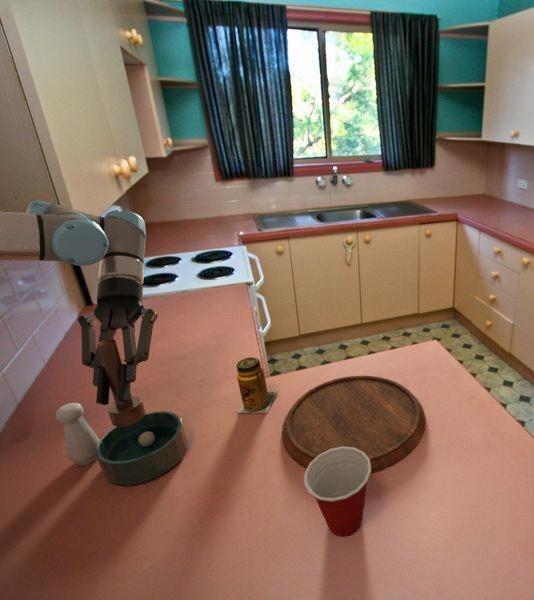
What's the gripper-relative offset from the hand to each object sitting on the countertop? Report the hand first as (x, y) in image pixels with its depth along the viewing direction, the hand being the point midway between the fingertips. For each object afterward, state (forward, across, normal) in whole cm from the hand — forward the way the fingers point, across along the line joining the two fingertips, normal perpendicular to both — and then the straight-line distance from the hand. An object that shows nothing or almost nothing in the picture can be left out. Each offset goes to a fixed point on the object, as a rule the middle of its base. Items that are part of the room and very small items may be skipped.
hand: (113, 401), depth 76 cm
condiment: (-1, -21, -26) cm, 33 cm away
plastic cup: (+27, -38, +1) cm, 47 cm away
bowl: (+9, 0, -16) cm, 19 cm away
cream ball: (+5, +1, -17) cm, 18 cm away
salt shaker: (+7, +12, -19) cm, 23 cm away
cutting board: (+9, -43, -17) cm, 47 cm away
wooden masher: (+2, 0, -6) cm, 7 cm away
